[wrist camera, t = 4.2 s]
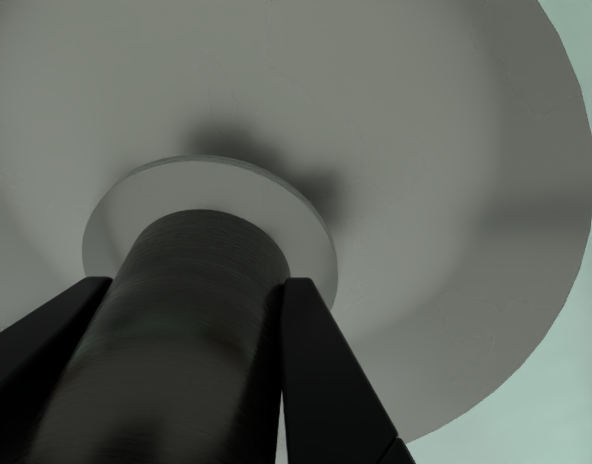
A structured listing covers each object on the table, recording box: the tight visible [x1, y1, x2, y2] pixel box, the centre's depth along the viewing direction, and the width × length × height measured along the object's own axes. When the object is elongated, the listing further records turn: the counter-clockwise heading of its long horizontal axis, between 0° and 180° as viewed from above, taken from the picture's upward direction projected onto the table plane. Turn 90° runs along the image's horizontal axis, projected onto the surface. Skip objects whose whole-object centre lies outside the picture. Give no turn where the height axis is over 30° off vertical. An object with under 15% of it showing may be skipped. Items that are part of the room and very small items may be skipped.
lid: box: [0, 0, 592, 464], centre depth 7 cm, size 13×13×5 cm
